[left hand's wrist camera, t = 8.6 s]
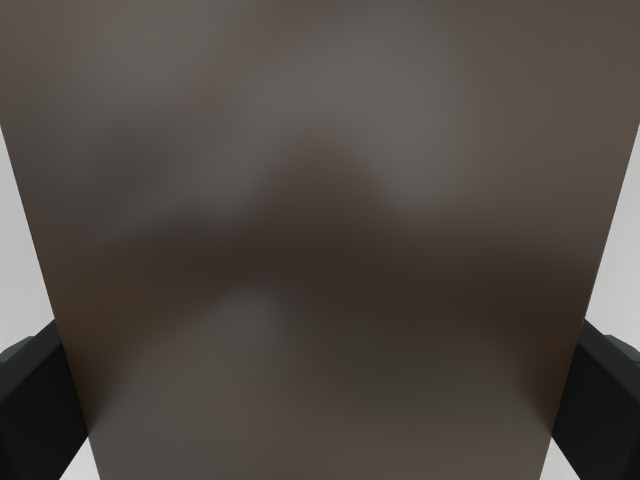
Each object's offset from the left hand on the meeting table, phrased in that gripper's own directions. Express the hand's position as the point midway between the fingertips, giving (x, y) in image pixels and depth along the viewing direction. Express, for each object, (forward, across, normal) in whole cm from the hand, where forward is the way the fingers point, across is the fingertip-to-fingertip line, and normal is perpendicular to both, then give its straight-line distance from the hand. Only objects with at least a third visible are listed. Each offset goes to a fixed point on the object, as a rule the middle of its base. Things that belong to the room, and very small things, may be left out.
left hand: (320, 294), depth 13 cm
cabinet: (+4, 0, -4) cm, 5 cm away
